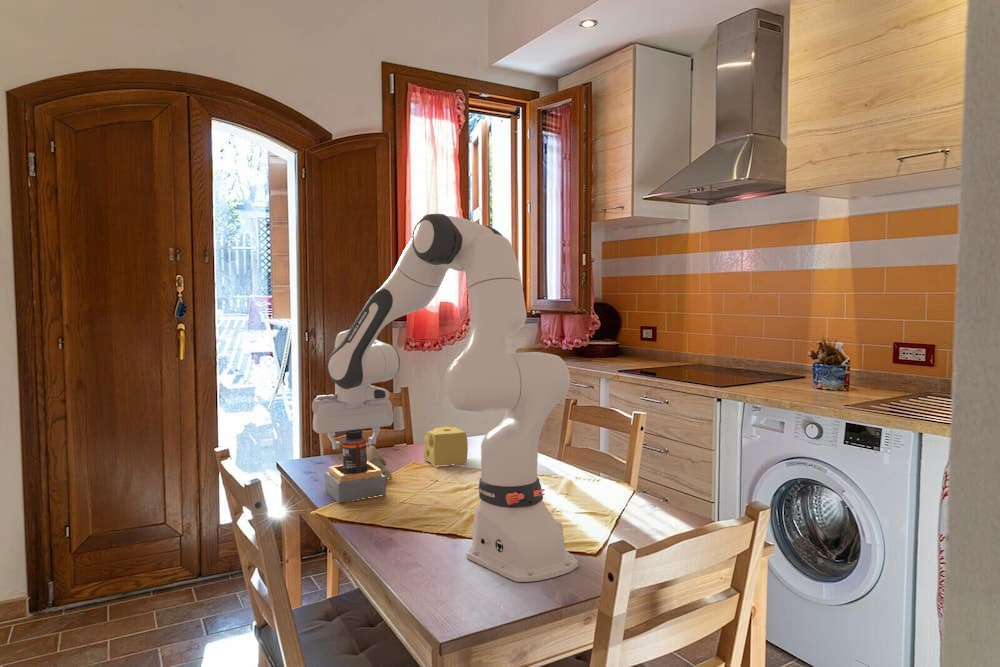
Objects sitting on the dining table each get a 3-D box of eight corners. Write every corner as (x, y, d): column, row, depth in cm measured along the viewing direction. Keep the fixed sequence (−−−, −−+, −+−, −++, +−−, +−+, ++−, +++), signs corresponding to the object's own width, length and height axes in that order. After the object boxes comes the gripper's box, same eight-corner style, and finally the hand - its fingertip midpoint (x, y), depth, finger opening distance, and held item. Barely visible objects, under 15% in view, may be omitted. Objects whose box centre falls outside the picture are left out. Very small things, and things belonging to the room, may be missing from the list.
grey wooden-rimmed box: (386, 495, 165) (385, 470, 164) (338, 503, 159) (338, 477, 158) (370, 484, 175) (369, 460, 175) (325, 491, 169) (325, 466, 169)
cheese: (423, 460, 200) (422, 428, 199) (456, 456, 204) (455, 425, 204) (434, 468, 190) (434, 434, 190) (468, 464, 195) (468, 431, 194)
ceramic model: (397, 480, 179) (396, 444, 178) (357, 486, 173) (356, 449, 173) (380, 468, 191) (379, 434, 191) (342, 474, 186) (341, 439, 185)
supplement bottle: (369, 470, 170) (368, 427, 169) (365, 477, 164) (364, 432, 163) (345, 471, 169) (344, 428, 169) (341, 477, 163) (340, 433, 163)
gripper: (315, 398, 157) (316, 454, 158) (395, 391, 168) (396, 444, 168) (308, 394, 163) (310, 449, 164) (386, 388, 173) (387, 439, 174)
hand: (354, 446), depth 166 cm, fingers open, 8 cm apart
